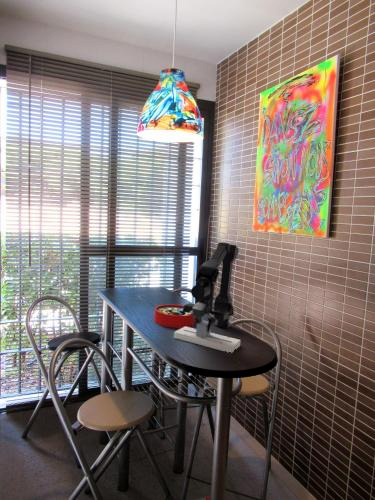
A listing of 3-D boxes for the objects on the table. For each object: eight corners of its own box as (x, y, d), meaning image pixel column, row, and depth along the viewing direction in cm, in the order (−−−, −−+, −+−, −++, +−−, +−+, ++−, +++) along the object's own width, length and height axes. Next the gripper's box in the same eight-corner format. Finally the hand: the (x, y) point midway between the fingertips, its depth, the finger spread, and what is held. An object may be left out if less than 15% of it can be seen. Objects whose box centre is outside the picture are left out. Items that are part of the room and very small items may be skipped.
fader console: (184, 331, 161) (185, 326, 161) (240, 345, 150) (240, 339, 149) (173, 337, 153) (174, 331, 152) (231, 353, 141) (232, 346, 140)
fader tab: (202, 331, 155) (203, 320, 155) (210, 333, 153) (211, 322, 153) (195, 335, 150) (196, 323, 149) (204, 337, 148) (205, 325, 148)
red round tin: (146, 307, 176) (176, 302, 190) (145, 319, 176) (175, 313, 190) (174, 318, 162) (204, 312, 176) (173, 330, 162) (203, 324, 176)
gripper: (177, 294, 147) (174, 331, 149) (219, 302, 138) (216, 342, 140) (190, 290, 157) (187, 324, 159) (230, 297, 148) (226, 334, 150)
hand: (203, 331), depth 151 cm, fingers closed on fader tab, 4 cm apart
